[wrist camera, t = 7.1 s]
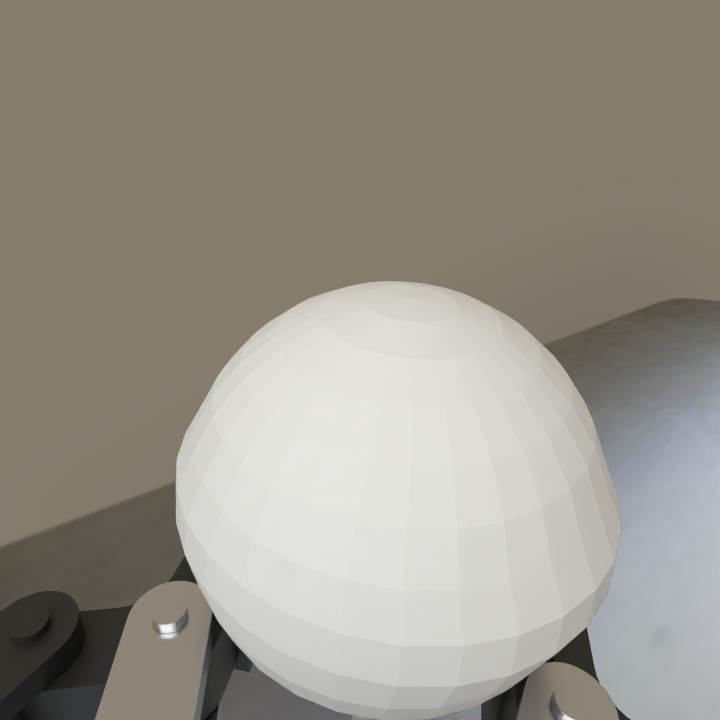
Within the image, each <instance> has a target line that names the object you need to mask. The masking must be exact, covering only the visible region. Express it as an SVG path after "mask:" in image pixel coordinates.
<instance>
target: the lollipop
mask: <svg viewBox="0 0 720 720" xmlns="http://www.w3.org/2000/svg"><path fill="white" fill-rule="evenodd" d="M176 469H177V470H176V524H177V527H178V531H179V535H180V538H181V542H182V546H183V549H184V553H185V556H186V559H187V561H188V563H189V565H190V568H191V570H192V572H193V574H194V576H195V579H196V581H197V583H198V585H199V588H200V590H201V591H202V593H203V595H204V597H205V599H206V600H207V602H208V604H209V606H210V608H211V610H212V611H213V613H214V615H215V617H216V619H217V620H218V622H219V623H220V625H221V626H222V627H223V629H224V630H225V631H226V633H227V634H228V635H229V637H230V638H231V639H232V641H233V642H234V643H235V644H236V645H237V646H238V647H239V648H240V649H241V650H242V651H243V653H244V654H245V655H246V656H247V657H248V658H249V659H250V660H251V661H252V662H253V663H254V665H255V666H256V667H257V668H258V669H259V670H260V671H262V672H263V673H265V674H266V675H268V676H269V677H270V678H272V679H273V680H275V681H276V682H278V683H279V684H281V685H282V686H283V687H285V688H286V689H288V690H289V691H291V692H292V693H294V694H295V695H297V696H300V697H302V698H305V699H307V700H310V701H312V702H314V703H317V704H319V705H322V706H324V707H326V708H329V709H331V710H334V711H336V712H340V713H345V714H351V715H352V720H374V719H377V720H425V719H433V718H437V717H441V716H445V715H449V714H453V713H457V712H461V711H465V710H469V709H472V708H474V707H476V706H478V705H480V704H482V703H484V702H485V701H487V700H489V699H491V698H493V697H495V696H497V695H499V694H501V693H503V692H505V691H506V690H508V689H510V688H511V687H512V686H514V685H515V684H517V683H518V682H519V681H521V680H522V679H524V678H525V677H526V676H528V675H529V674H530V673H532V672H533V671H534V670H536V669H537V668H538V667H540V666H541V665H542V664H544V663H545V662H546V661H547V660H549V659H550V658H551V657H553V656H554V655H555V654H557V653H558V652H559V651H560V650H561V649H562V648H563V647H565V646H566V645H567V644H568V643H569V642H570V641H571V640H573V639H574V638H575V637H576V636H577V635H578V634H580V633H581V632H582V631H583V630H584V629H585V628H586V627H587V626H588V625H589V623H590V621H591V620H592V618H593V616H594V615H595V613H596V611H597V610H598V608H599V607H600V605H601V603H602V602H603V600H604V598H605V597H606V594H607V591H608V587H609V583H610V579H611V575H612V571H613V567H614V563H615V559H616V554H617V550H618V545H619V540H620V536H621V531H622V524H621V516H620V507H619V499H618V496H617V493H616V490H615V487H614V484H613V481H612V478H611V475H610V472H609V470H608V467H607V464H606V461H605V458H604V455H603V451H602V448H601V445H600V442H599V439H598V435H597V432H596V429H595V426H594V423H593V420H592V418H591V416H590V413H589V411H588V408H587V406H586V403H585V402H584V400H583V398H582V397H581V395H580V393H579V392H578V390H577V389H576V387H575V385H574V384H573V382H572V381H571V379H570V377H569V376H568V374H567V373H566V371H565V370H564V368H563V367H562V366H561V365H560V363H559V362H558V361H557V359H556V358H555V357H554V356H553V355H552V354H551V353H550V352H549V351H548V350H547V349H546V348H545V347H544V346H543V345H542V344H541V343H540V342H539V341H538V340H536V339H535V338H534V337H533V336H532V335H531V334H530V333H529V332H528V331H527V330H526V329H525V328H523V327H522V326H521V325H520V324H519V323H518V322H516V321H515V320H513V319H511V318H509V317H508V316H506V315H505V314H503V313H502V312H500V311H498V310H496V309H494V308H492V307H490V306H488V305H486V304H484V303H482V302H480V301H478V300H476V299H474V298H472V297H470V296H468V295H465V294H462V293H459V292H457V291H453V290H450V289H446V288H442V287H438V286H433V285H427V284H422V283H413V282H397V281H386V282H371V283H362V284H358V285H353V286H349V287H346V288H342V289H338V290H335V291H331V292H327V293H324V294H321V295H319V296H315V297H312V298H309V299H308V300H306V301H304V302H302V303H300V304H298V305H296V306H294V307H293V308H291V309H290V310H288V311H286V312H285V313H283V314H281V315H280V316H278V317H277V318H275V319H273V320H272V321H270V322H269V323H267V324H266V325H265V326H264V327H262V328H261V329H260V330H259V331H258V332H256V333H255V334H254V335H253V336H252V337H251V338H250V339H249V340H248V341H247V342H246V343H245V345H243V346H242V347H241V348H240V350H239V351H238V352H237V353H236V354H235V355H234V356H233V357H232V358H231V359H230V361H229V362H228V363H227V365H226V366H225V367H224V369H223V370H222V371H221V373H220V374H219V375H218V377H217V379H216V381H215V382H214V384H213V386H212V388H211V390H210V391H209V393H208V395H207V397H206V398H205V400H204V402H203V404H202V405H201V407H200V409H199V411H198V412H197V414H196V416H195V418H194V419H193V421H192V423H191V425H190V426H189V428H188V430H187V431H186V433H185V436H184V439H183V442H182V445H181V448H180V451H179V454H178V457H177V467H176Z"/></svg>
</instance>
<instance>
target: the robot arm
mask: <svg viewBox="0 0 720 720" xmlns="http://www.w3.org/2000/svg"><path fill="white" fill-rule="evenodd" d="M252 664H253V662H252V661H251V660H250V659H249V658H248V657H247V656H246V655H245V654H244V653H243V651H242V650H241V649H240V648H239V647H238V646H237V645H236V644H235V643H234V642H233V641H232V639H231V638H230V637H229V635H228V634H227V633H226V631H225V630H224V629H223V627H222V626H221V625H220V623H219V622H218V620H217V619H216V617H215V615H214V613H213V611H212V610H211V608H210V606H209V604H208V602H207V600H206V599H205V597H204V595H203V593H202V591H201V590H200V588H199V585H198V583H197V581H196V579H195V576H194V574H193V572H192V570H191V568H190V565H189V563H188V561H187V559H186V556H185V557H184V558H183V560H182V562H181V563H180V565H179V567H178V568H177V570H176V572H175V573H174V575H173V576H172V578H171V579H170V581H169V582H168V583H164V584H161V585H159V586H157V587H155V588H153V589H151V590H149V591H148V592H147V593H145V594H144V595H143V596H142V597H141V598H140V599H139V600H138V601H137V602H136V603H135V604H134V605H131V606H127V607H121V608H112V609H101V610H91V611H80V612H79V609H78V606H77V604H76V602H75V600H74V599H73V598H72V597H70V596H69V595H67V594H65V593H62V592H58V591H44V592H38V593H34V594H31V595H28V596H26V597H23V598H21V599H19V600H17V601H16V602H14V603H12V604H11V605H9V606H8V607H6V608H5V609H4V610H2V611H1V612H0V720H221V715H222V707H223V693H224V691H225V688H226V686H227V683H228V681H229V679H230V676H231V674H232V671H233V669H237V670H241V671H245V672H250V669H251V667H252ZM481 720H630V719H629V718H628V717H626V716H625V715H624V714H623V713H622V712H621V711H620V710H619V709H618V708H617V707H616V706H615V705H614V703H613V701H612V699H611V697H610V696H609V694H608V693H607V692H606V690H605V689H604V688H603V687H602V686H601V684H600V683H599V680H598V678H597V675H596V672H595V668H594V663H593V658H592V653H591V648H590V642H589V637H588V632H587V627H586V628H585V629H584V630H583V631H582V632H581V633H580V634H578V635H577V636H576V637H575V638H574V639H573V640H571V641H570V642H569V643H568V644H567V645H566V646H565V647H563V648H562V649H561V650H560V651H559V652H558V653H557V654H555V655H554V656H553V657H551V658H550V659H549V660H547V661H546V662H545V663H544V664H542V665H541V666H540V667H538V668H537V669H536V670H534V671H533V672H532V673H530V674H529V675H528V676H526V677H525V678H524V679H522V680H521V681H519V682H518V683H517V684H515V685H514V686H512V687H511V688H510V689H508V690H506V691H505V692H503V693H501V694H499V695H497V696H495V697H493V698H491V699H489V700H487V701H485V702H484V703H482V704H481Z"/></svg>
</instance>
